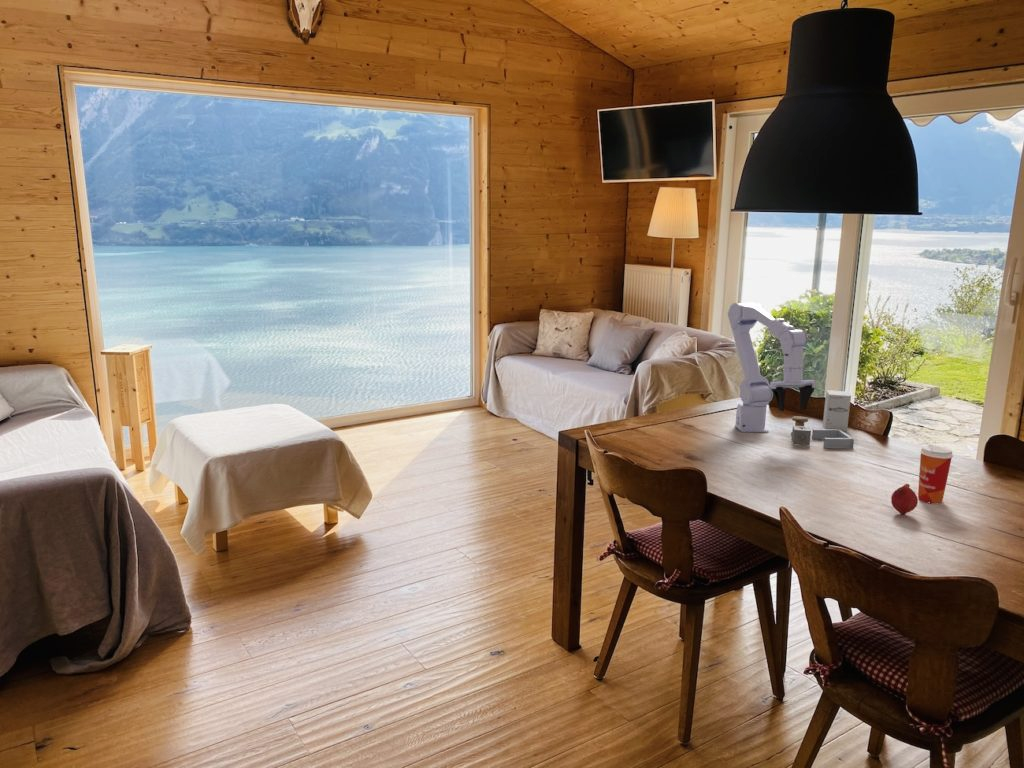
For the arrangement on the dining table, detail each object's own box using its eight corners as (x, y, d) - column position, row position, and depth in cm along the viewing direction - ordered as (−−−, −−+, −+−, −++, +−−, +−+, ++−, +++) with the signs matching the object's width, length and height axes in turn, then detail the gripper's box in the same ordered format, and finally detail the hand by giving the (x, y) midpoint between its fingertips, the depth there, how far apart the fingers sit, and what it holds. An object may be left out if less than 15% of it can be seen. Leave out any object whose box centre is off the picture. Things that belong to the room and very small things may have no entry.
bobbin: (793, 437, 255) (795, 420, 253) (788, 433, 259) (790, 416, 258) (808, 437, 255) (810, 420, 253) (803, 433, 259) (805, 416, 258)
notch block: (824, 447, 244) (825, 438, 243) (811, 437, 255) (812, 429, 254) (853, 448, 244) (854, 439, 243) (839, 438, 254) (840, 429, 254)
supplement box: (824, 429, 264) (828, 394, 261) (822, 424, 271) (826, 389, 268) (847, 431, 262) (851, 395, 259) (845, 426, 269) (848, 391, 266)
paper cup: (908, 494, 204) (914, 443, 201) (937, 494, 204) (944, 444, 201) (922, 505, 197) (929, 453, 193) (953, 505, 196) (960, 453, 193)
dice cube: (807, 441, 251) (809, 426, 250) (809, 445, 246) (811, 430, 245) (791, 440, 252) (792, 425, 251) (793, 444, 247) (794, 429, 246)
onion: (903, 520, 187) (907, 489, 185) (884, 511, 192) (887, 481, 190) (920, 516, 189) (924, 486, 187) (900, 508, 194) (904, 478, 193)
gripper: (778, 370, 239) (777, 413, 240) (821, 367, 241) (820, 410, 243) (767, 367, 245) (766, 409, 247) (808, 365, 248) (807, 407, 250)
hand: (792, 409), depth 245 cm, fingers open, 7 cm apart
